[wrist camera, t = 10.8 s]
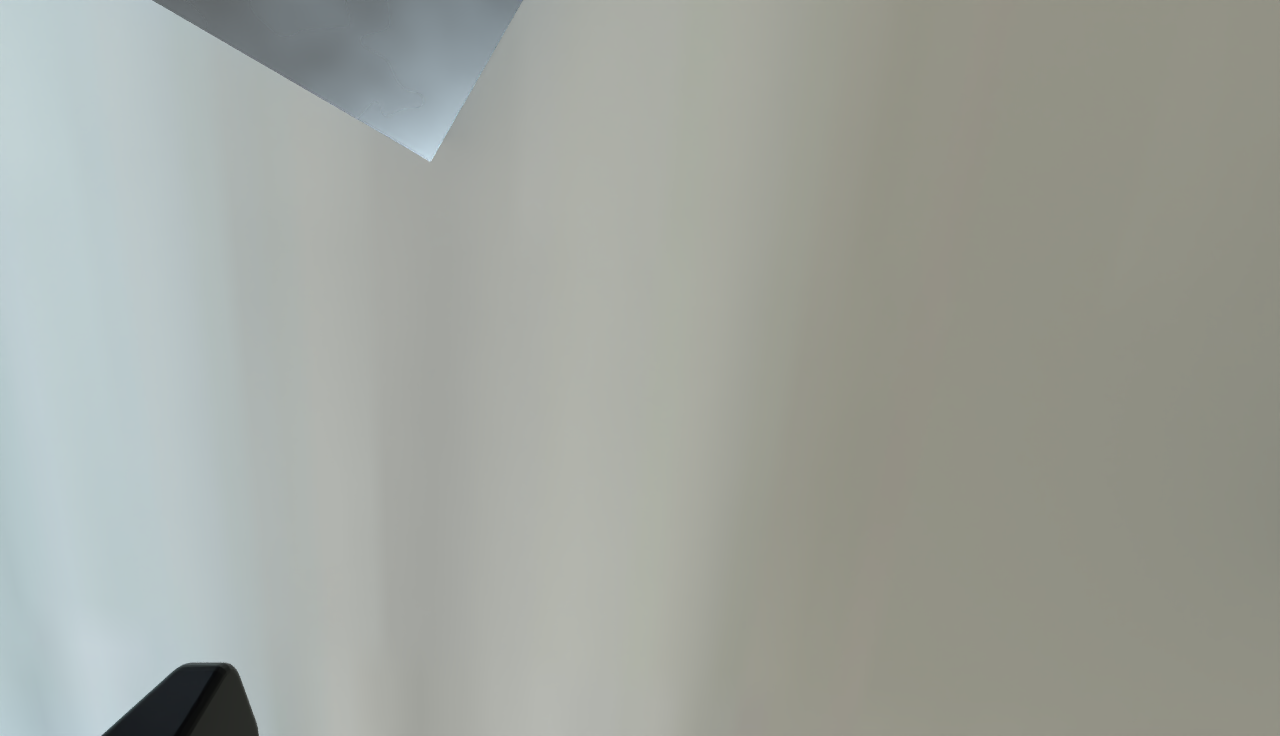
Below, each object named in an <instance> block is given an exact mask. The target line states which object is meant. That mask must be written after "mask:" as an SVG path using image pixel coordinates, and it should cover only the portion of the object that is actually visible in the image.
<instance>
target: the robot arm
mask: <svg viewBox="0 0 1280 736" xmlns="http://www.w3.org/2000/svg"><path fill="white" fill-rule="evenodd" d="M102 736H259V734H258V727H257V723H256V720H255V717H254V715H253V712H252V709H251V706H250V704H249V701H248V698H247V695H246V692H245V690H244V687H243V684H242V681H241V678H240V676H239V674H238V672H237V670H236V669H235V668H234V667H233V666H232V665H231V664H228V663H187V664H184V665H182V666H180V667H178V668H177V669H175V670H174V671H173V672H172V673H171V674H169V675H168V676H167V677H166V678H165V679H164V680H163V681H162V682H161V683H159V684H158V685H157V686H156V687H155V688H154V689H153V690H152V691H151V692H149V693H148V694H147V695H146V696H145V697H144V698H143V699H142V700H141V701H139V702H138V703H137V704H136V705H135V706H134V707H133V708H132V709H131V710H129V711H128V712H127V713H126V714H125V715H124V716H123V717H122V718H121V719H119V720H118V721H117V722H116V723H115V724H114V725H113V726H112V727H111V728H109V729H108V730H107V731H106V732H105V733H104V734H103V735H102Z"/></svg>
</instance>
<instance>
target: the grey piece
mask: <svg viewBox="0 0 1280 736" xmlns="http://www.w3.org/2000/svg"><path fill="white" fill-rule="evenodd" d="M153 1H155V2H156V3H158V4H160V5H162V6H163V7H165V8H167V9H168V10H170V11H172V12H174V13H175V14H177V15H179V16H180V17H182V18H184V19H186V20H187V21H189V22H191V23H193V24H194V25H196V26H198V27H199V28H201V29H203V30H205V31H206V32H208V33H210V34H211V35H213V36H215V37H217V38H218V39H220V40H222V41H224V42H225V43H227V44H229V45H230V46H232V47H234V48H236V49H237V50H239V51H241V52H242V53H244V54H246V55H248V56H249V57H251V58H253V59H255V60H256V61H258V62H260V63H261V64H263V65H265V66H267V67H268V68H270V69H272V70H273V71H275V72H277V73H279V74H280V75H282V76H284V77H286V78H287V79H289V80H291V81H292V82H294V83H296V84H298V85H299V86H301V87H303V88H304V89H306V90H308V91H310V92H311V93H313V94H315V95H317V96H318V97H320V98H322V99H323V100H325V101H327V102H329V103H330V104H332V105H334V106H335V107H337V108H339V109H341V110H342V111H344V112H346V113H348V114H349V115H351V116H353V117H354V118H356V119H358V120H360V121H361V122H363V123H365V124H366V125H368V126H370V127H372V128H373V129H375V130H377V131H379V132H380V133H382V134H384V135H385V136H387V137H389V138H391V139H392V140H394V141H396V142H397V143H399V144H401V145H403V146H404V147H406V148H408V149H410V150H411V151H413V152H415V153H416V154H418V155H420V156H422V157H423V158H425V159H427V160H428V161H430V162H431V160H432V158H433V157H434V155H435V153H436V151H437V150H438V148H439V146H440V144H441V143H442V141H443V139H444V137H445V136H446V134H447V132H448V130H449V129H450V127H451V125H452V123H453V122H454V120H455V118H456V116H457V115H458V113H459V111H460V109H461V108H462V106H463V104H464V102H465V101H466V99H467V97H468V95H469V94H470V92H471V90H472V88H473V87H474V85H475V83H476V81H477V80H478V78H479V76H480V74H481V73H482V71H483V69H484V67H485V66H486V64H487V62H488V60H489V59H490V57H491V55H492V53H493V52H494V50H495V48H496V46H497V45H498V43H499V41H500V39H501V38H502V36H503V34H504V32H505V30H506V29H507V27H508V25H509V23H510V22H511V20H512V18H513V16H514V15H515V13H516V11H517V9H518V8H519V6H520V4H521V2H522V1H523V0H153Z"/></svg>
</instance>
